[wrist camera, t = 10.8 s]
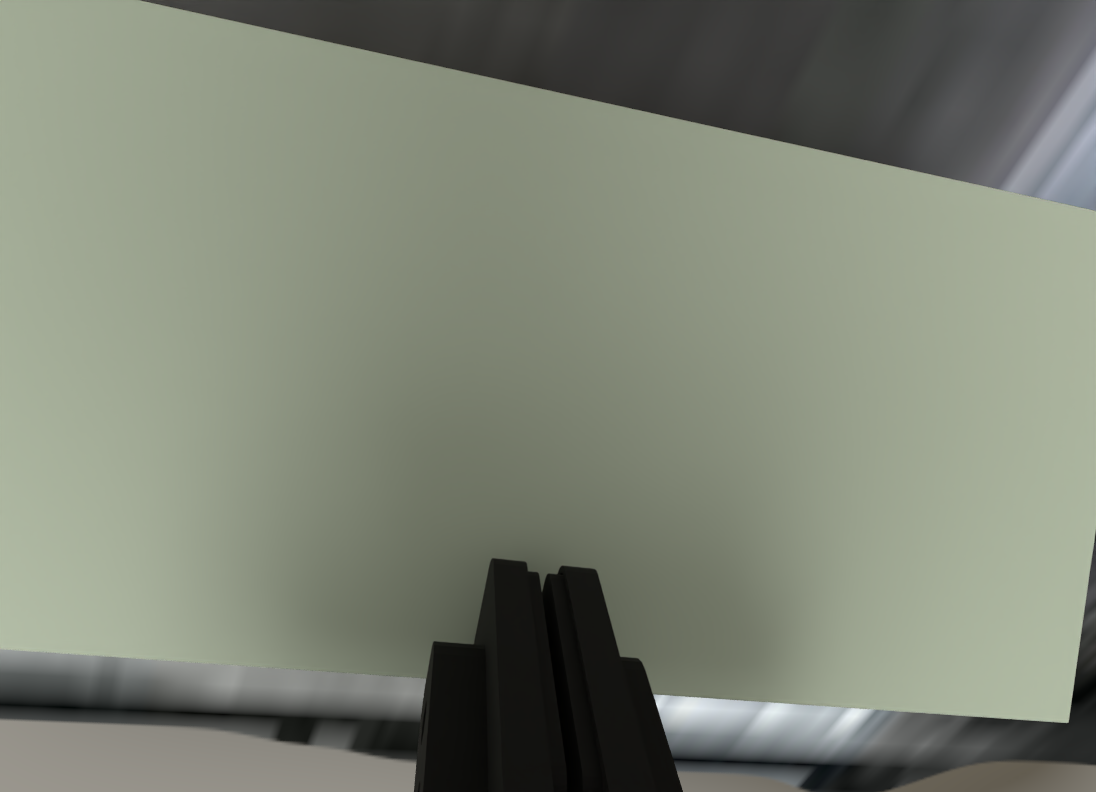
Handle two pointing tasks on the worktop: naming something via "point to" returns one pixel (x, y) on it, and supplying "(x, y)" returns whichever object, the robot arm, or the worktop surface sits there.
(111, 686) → the worktop surface
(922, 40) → the worktop surface
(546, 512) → the lid
